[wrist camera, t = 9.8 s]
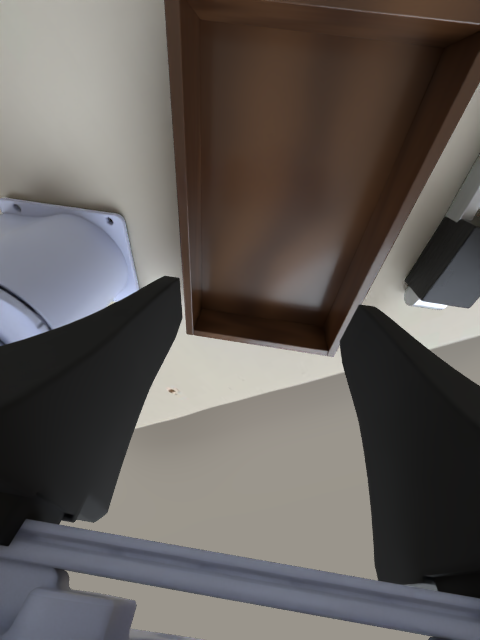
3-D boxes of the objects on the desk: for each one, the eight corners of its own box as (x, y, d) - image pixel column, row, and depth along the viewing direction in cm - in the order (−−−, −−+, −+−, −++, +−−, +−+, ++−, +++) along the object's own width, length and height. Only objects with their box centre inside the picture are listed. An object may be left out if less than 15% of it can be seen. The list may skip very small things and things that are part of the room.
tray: (197, 309, 22) (186, 334, 20) (189, 1, 11) (160, -40, 8) (326, 328, 22) (333, 357, 19) (460, 32, 10) (524, -1, 8)
